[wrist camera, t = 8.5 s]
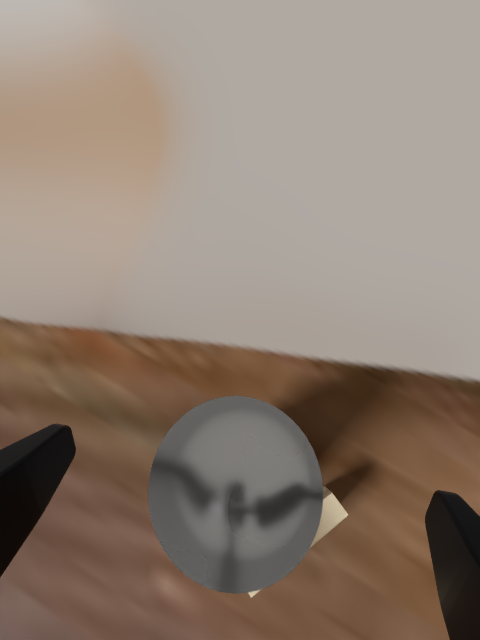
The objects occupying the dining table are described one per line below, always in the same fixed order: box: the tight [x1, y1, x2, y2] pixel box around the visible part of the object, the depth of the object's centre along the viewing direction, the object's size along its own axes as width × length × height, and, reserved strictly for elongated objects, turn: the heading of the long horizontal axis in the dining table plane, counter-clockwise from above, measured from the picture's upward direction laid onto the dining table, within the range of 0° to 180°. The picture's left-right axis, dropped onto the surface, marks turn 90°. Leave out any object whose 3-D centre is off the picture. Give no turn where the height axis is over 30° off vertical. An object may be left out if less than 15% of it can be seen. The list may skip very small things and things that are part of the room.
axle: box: [148, 396, 323, 593], centre depth 14 cm, size 4×4×13 cm
